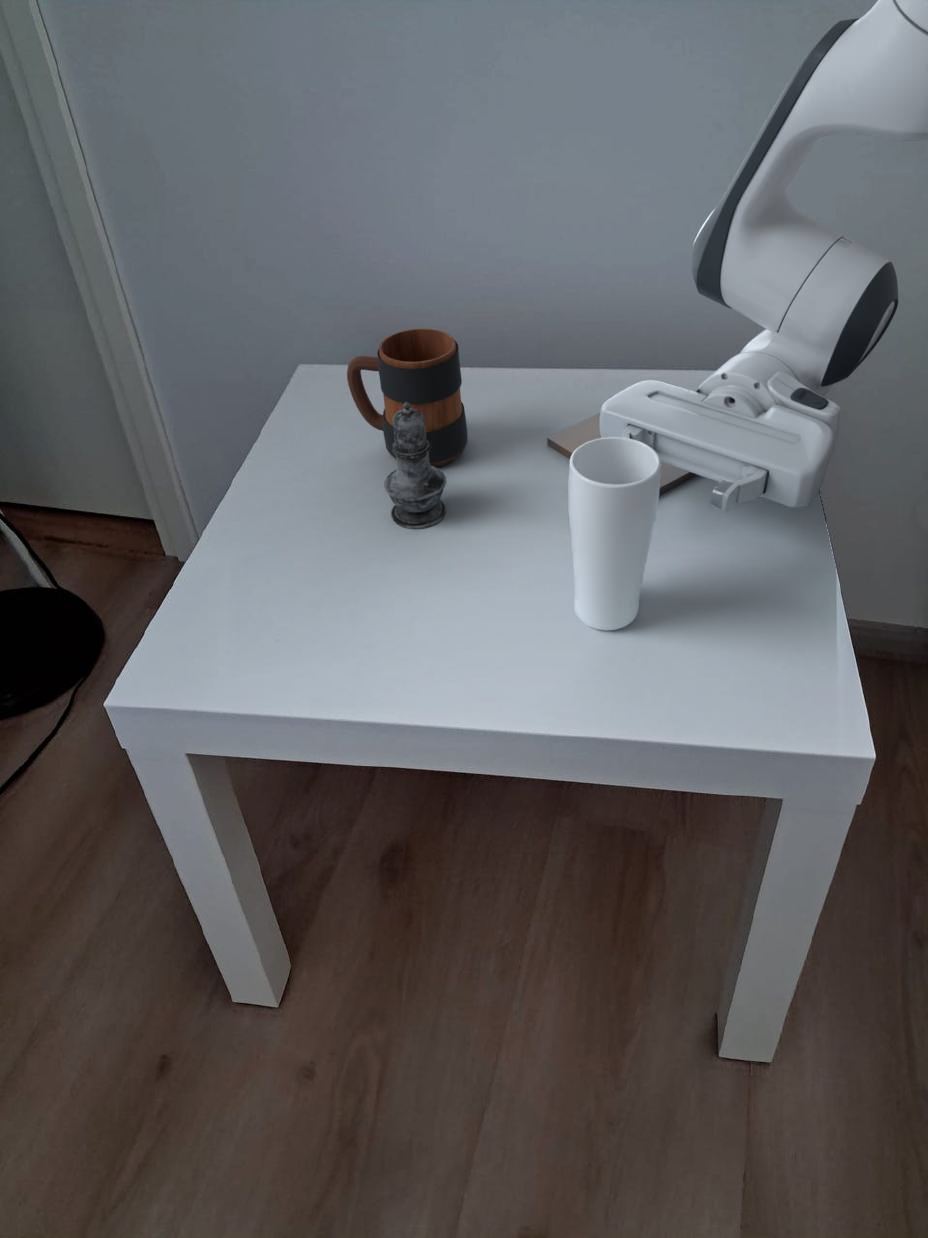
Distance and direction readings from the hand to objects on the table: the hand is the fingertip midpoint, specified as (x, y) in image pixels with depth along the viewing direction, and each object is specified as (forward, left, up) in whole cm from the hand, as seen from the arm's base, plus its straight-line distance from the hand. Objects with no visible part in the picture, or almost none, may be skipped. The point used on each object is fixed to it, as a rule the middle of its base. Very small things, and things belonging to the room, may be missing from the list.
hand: (666, 483), depth 78 cm
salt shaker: (+20, +12, -8) cm, 25 cm away
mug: (+30, +6, -8) cm, 32 cm away
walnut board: (+14, -12, -8) cm, 20 cm away
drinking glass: (-2, +8, -8) cm, 12 cm away
